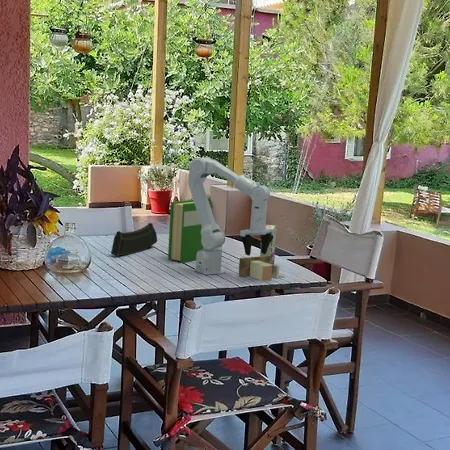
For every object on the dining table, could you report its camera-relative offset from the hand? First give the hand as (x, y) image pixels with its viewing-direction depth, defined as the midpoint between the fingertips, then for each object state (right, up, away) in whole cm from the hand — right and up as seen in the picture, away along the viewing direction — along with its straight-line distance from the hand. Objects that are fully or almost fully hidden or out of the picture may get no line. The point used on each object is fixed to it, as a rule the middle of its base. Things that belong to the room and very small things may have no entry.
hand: (255, 254), depth 255 cm
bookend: (+8, -9, +8) cm, 14 cm away
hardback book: (-26, -3, +29) cm, 39 cm away
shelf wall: (0, -8, +7) cm, 11 cm away
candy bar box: (+5, -6, +23) cm, 25 cm away
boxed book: (+2, -9, +3) cm, 10 cm away
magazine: (-50, -1, +36) cm, 62 cm away
